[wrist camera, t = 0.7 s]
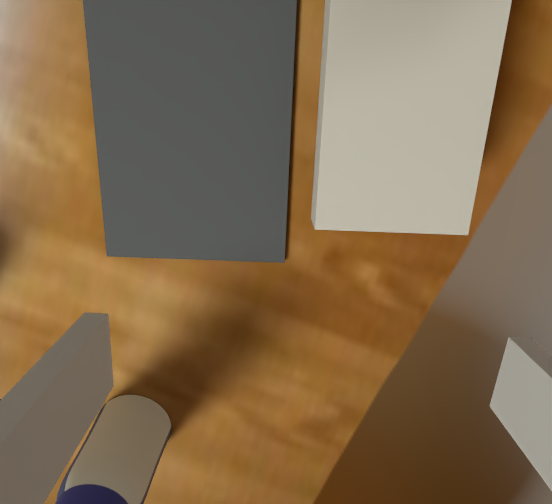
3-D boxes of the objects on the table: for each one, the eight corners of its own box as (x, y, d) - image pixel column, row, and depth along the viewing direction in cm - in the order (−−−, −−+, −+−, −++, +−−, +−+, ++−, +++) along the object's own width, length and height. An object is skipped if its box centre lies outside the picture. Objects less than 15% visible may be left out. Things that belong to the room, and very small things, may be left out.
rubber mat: (74, -124, 29) (71, -128, 28) (302, -114, 29) (302, -118, 29) (109, 254, 38) (106, 256, 37) (284, 260, 38) (284, 262, 37)
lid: (334, -132, 25) (342, -167, 22) (509, -124, 25) (541, -158, 22) (311, 218, 31) (314, 229, 28) (449, 223, 32) (467, 234, 29)
